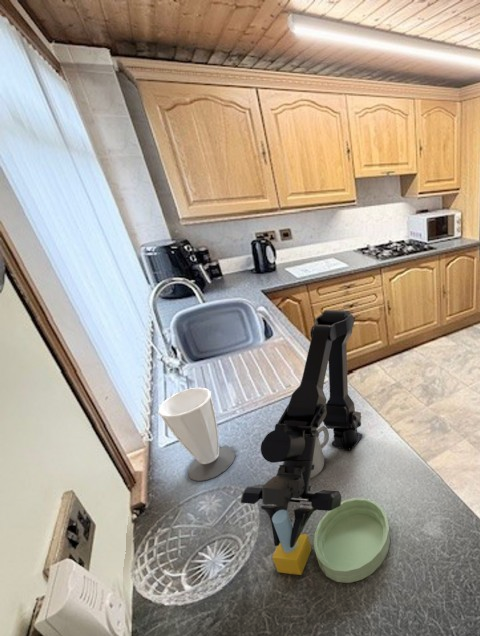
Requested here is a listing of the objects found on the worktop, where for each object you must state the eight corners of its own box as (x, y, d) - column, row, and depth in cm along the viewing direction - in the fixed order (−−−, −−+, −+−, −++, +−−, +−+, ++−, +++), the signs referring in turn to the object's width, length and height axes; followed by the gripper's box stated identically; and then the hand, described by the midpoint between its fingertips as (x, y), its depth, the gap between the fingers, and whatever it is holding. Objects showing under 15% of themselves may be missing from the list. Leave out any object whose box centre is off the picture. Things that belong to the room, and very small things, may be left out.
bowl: (346, 501, 83) (343, 488, 81) (402, 525, 77) (401, 512, 75) (302, 564, 71) (297, 551, 69) (365, 598, 65) (362, 585, 63)
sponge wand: (289, 546, 74) (274, 503, 68) (311, 549, 73) (298, 505, 67) (277, 572, 70) (260, 528, 63) (301, 575, 69) (286, 530, 63)
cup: (217, 442, 102) (193, 382, 93) (244, 454, 97) (221, 393, 88) (178, 472, 93) (146, 409, 83) (205, 487, 88) (175, 422, 79)
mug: (304, 485, 87) (295, 454, 83) (284, 470, 92) (275, 439, 87) (341, 454, 96) (334, 424, 91) (321, 441, 101) (314, 412, 96)
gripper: (232, 458, 66) (211, 554, 61) (326, 465, 63) (312, 566, 58) (264, 455, 76) (249, 537, 71) (346, 461, 74) (336, 546, 69)
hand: (284, 546), depth 67 cm, fingers closed on sponge wand, 3 cm apart
